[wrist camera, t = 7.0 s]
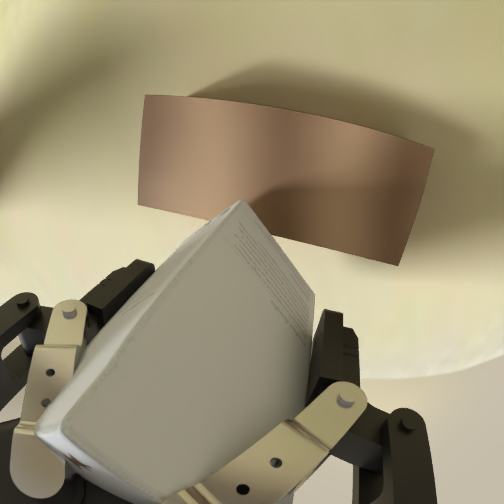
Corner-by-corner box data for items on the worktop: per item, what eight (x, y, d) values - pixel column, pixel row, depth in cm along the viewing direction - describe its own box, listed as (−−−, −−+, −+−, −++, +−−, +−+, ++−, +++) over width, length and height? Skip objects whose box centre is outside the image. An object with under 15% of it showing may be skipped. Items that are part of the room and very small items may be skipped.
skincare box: (181, 242, 16) (3, 426, 5) (249, 191, 14) (41, 416, 3) (254, 329, 17) (169, 542, 6) (325, 294, 15) (286, 559, 4)
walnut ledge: (176, 183, 21) (137, 204, 16) (186, 96, 18) (145, 94, 14) (383, 230, 19) (398, 266, 14) (408, 139, 16) (434, 149, 12)
